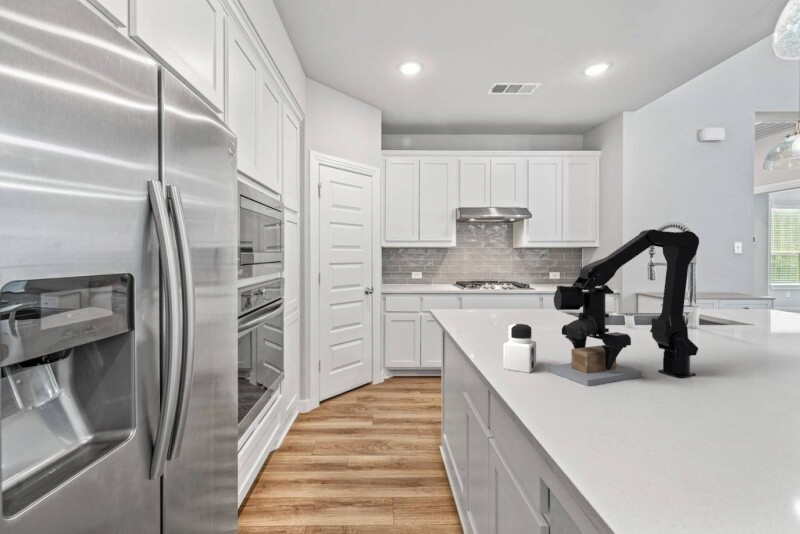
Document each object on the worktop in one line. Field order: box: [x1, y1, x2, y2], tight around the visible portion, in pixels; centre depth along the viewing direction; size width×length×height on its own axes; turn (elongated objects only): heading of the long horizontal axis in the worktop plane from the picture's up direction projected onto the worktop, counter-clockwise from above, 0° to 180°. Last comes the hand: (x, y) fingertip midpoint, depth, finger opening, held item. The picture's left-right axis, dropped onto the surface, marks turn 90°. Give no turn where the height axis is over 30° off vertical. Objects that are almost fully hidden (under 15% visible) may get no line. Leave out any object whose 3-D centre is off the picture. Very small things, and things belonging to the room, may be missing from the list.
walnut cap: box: [571, 345, 617, 374], centre depth 109 cm, size 11×5×6 cm, turn 112°
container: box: [502, 323, 537, 374], centre depth 116 cm, size 8×8×13 cm
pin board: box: [547, 362, 643, 387], centre depth 109 cm, size 20×14×5 cm
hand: (593, 365), depth 109 cm, fingers open, 9 cm apart
